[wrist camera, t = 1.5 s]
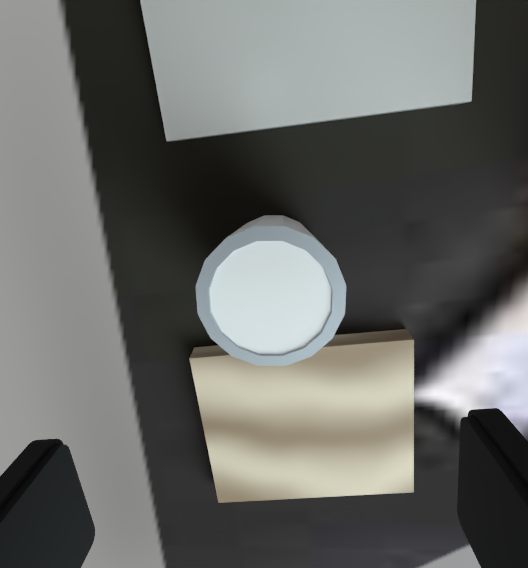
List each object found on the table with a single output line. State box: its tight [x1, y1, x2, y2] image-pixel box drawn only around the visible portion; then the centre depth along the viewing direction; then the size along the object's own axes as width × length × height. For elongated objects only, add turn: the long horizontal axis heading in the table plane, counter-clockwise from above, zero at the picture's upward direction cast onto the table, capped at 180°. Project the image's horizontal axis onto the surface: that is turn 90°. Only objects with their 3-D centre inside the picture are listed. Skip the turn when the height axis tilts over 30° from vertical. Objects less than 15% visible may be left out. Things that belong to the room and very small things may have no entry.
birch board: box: [189, 329, 414, 503], centre depth 27 cm, size 12×14×2 cm
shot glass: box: [196, 215, 346, 366], centre depth 21 cm, size 7×7×7 cm
